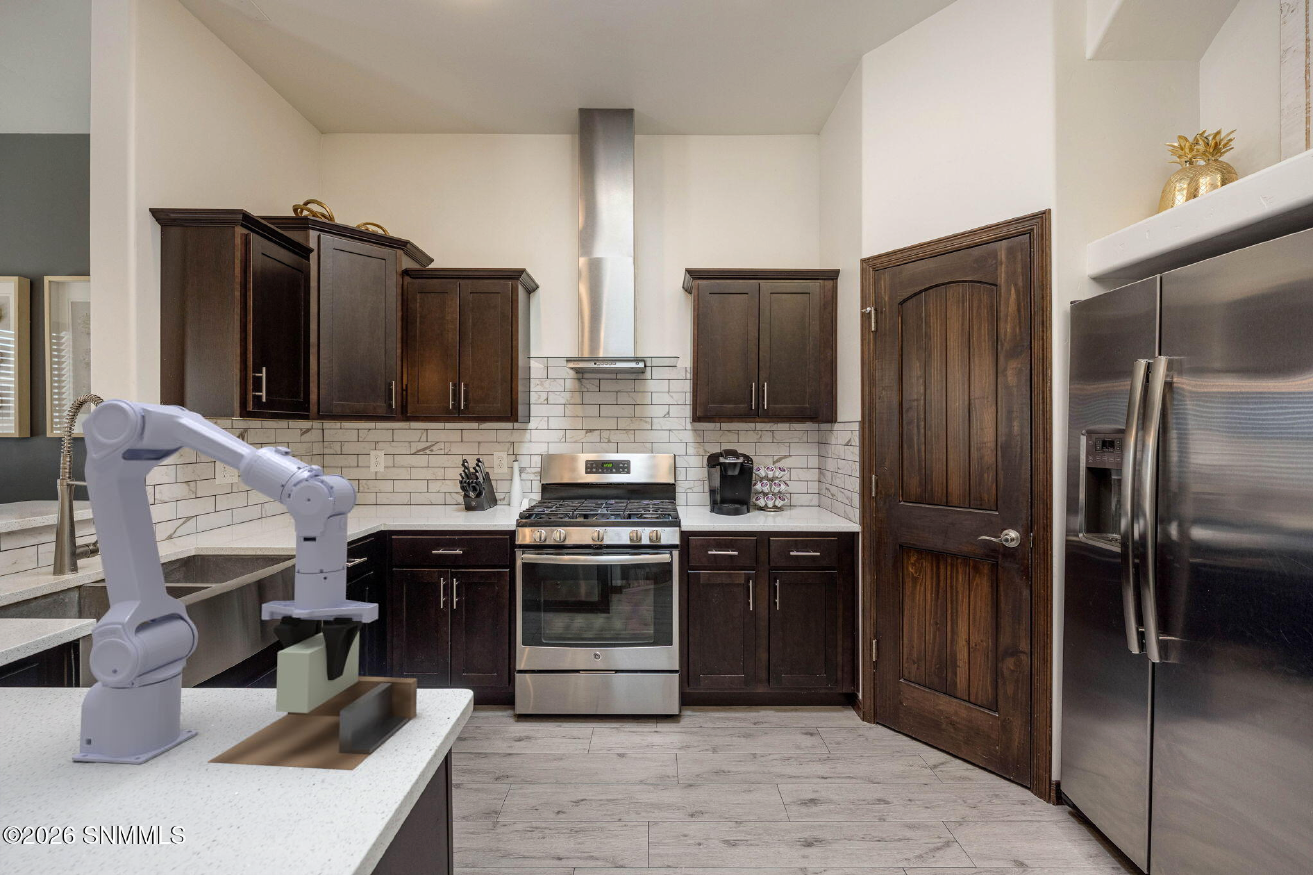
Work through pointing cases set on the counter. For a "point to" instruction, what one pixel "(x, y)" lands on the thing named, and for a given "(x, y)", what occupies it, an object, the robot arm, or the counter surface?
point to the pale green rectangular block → (311, 675)
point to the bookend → (368, 721)
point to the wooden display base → (317, 731)
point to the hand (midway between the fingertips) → (318, 676)
